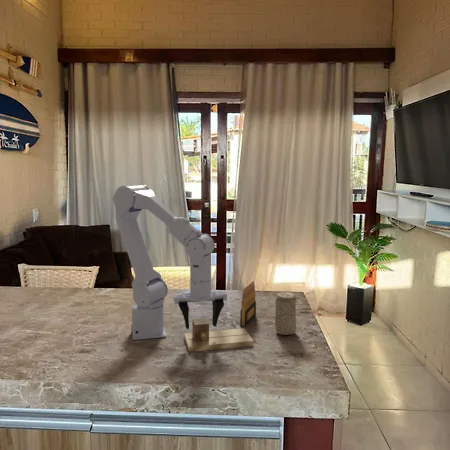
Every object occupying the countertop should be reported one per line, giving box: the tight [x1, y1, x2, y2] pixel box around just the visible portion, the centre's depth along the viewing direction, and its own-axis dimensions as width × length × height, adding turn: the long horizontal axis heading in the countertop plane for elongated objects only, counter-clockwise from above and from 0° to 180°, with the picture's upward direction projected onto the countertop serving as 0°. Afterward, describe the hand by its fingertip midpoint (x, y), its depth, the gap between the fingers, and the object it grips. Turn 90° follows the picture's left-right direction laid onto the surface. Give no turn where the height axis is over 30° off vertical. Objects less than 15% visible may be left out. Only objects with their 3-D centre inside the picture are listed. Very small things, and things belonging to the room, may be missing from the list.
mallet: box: [191, 317, 210, 343], centre depth 115 cm, size 4×9×5 cm, turn 13°
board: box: [183, 327, 254, 353], centre depth 119 cm, size 18×9×2 cm, turn 103°
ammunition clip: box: [239, 281, 257, 328], centre depth 135 cm, size 11×2×12 cm, turn 159°
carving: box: [274, 291, 297, 336], centre depth 125 cm, size 6×8×12 cm
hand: (200, 326), depth 118 cm, fingers open, 7 cm apart
